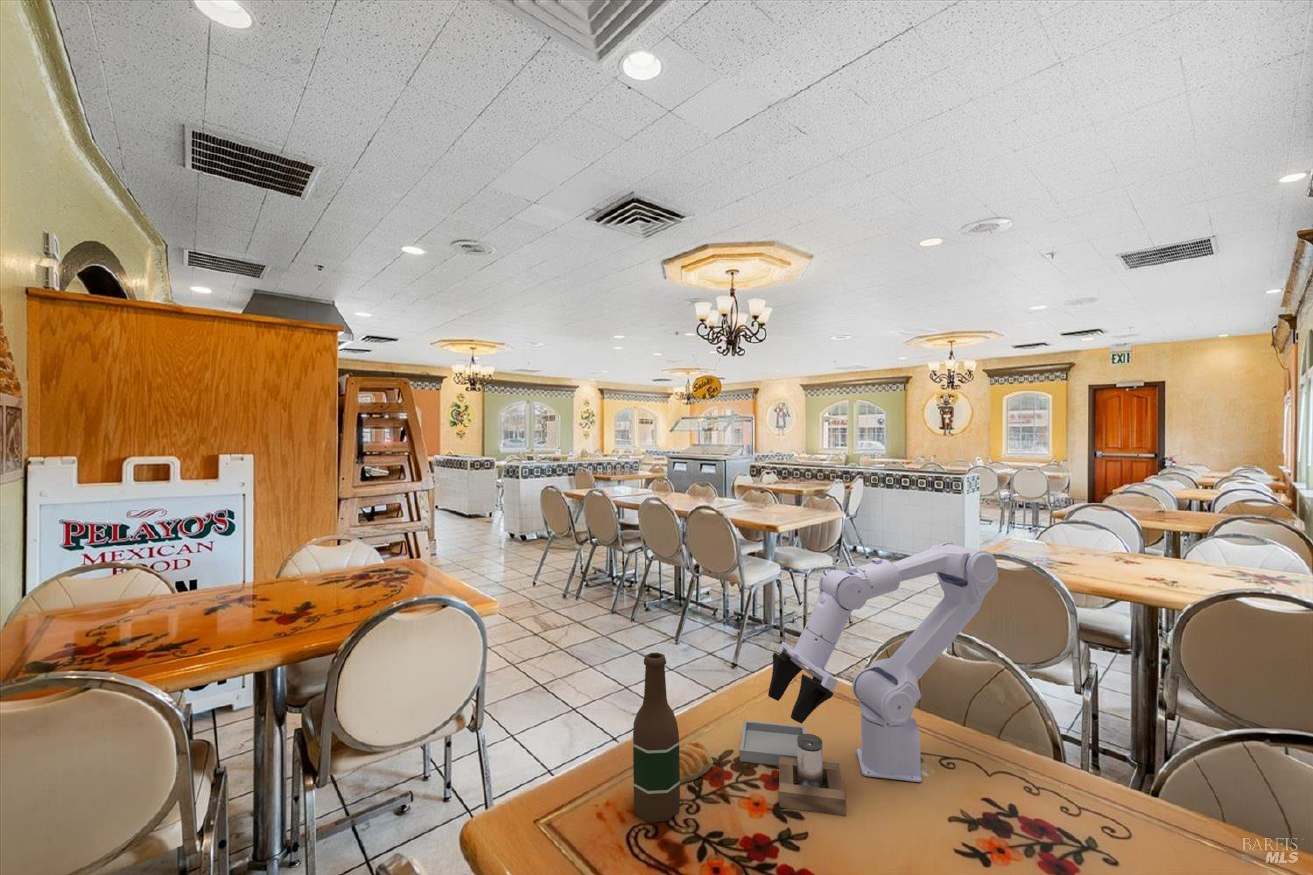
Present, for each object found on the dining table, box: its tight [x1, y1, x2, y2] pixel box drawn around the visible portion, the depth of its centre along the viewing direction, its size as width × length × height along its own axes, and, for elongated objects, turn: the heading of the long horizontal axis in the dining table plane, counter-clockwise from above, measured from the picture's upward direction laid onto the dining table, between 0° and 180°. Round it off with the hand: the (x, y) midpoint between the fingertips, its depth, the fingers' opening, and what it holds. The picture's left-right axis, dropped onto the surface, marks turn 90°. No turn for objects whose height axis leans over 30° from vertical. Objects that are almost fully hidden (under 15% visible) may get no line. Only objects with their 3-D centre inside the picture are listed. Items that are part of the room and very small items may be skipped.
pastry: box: [679, 740, 714, 785], centre depth 97 cm, size 9×7×4 cm
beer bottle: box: [632, 652, 681, 823], centre depth 87 cm, size 8×8×24 cm
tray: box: [739, 720, 807, 767], centre depth 104 cm, size 12×11×2 cm
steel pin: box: [797, 733, 824, 788], centre depth 91 cm, size 4×4×8 cm
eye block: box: [778, 756, 847, 817], centre depth 91 cm, size 10×10×2 cm
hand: (784, 708), depth 94 cm, fingers open, 7 cm apart
